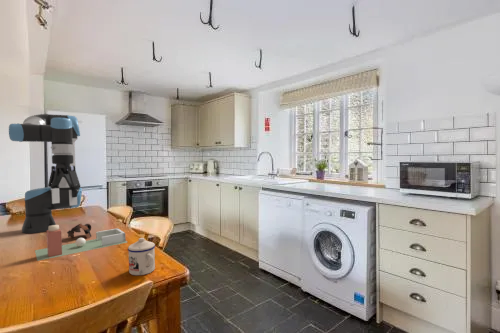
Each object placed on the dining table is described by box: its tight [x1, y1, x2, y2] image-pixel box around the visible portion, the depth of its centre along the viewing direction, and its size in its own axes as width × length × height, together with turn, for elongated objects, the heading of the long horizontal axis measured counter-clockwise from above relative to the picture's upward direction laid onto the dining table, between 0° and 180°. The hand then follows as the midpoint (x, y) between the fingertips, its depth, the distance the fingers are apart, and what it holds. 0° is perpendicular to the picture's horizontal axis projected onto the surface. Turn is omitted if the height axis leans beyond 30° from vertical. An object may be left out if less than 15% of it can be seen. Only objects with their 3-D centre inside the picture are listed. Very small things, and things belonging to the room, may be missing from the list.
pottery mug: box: [66, 223, 92, 240], centre depth 139 cm, size 12×10×8 cm
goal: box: [95, 228, 127, 246], centre depth 132 cm, size 12×10×4 cm
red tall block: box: [46, 224, 63, 257], centre depth 114 cm, size 4×4×12 cm
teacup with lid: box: [127, 237, 156, 276], centre depth 97 cm, size 12×9×12 cm
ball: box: [74, 237, 87, 247], centre depth 124 cm, size 4×4×4 cm
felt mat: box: [34, 238, 128, 262], centre depth 125 cm, size 16×34×1 cm, turn 131°
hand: (64, 204), depth 117 cm, fingers open, 13 cm apart
